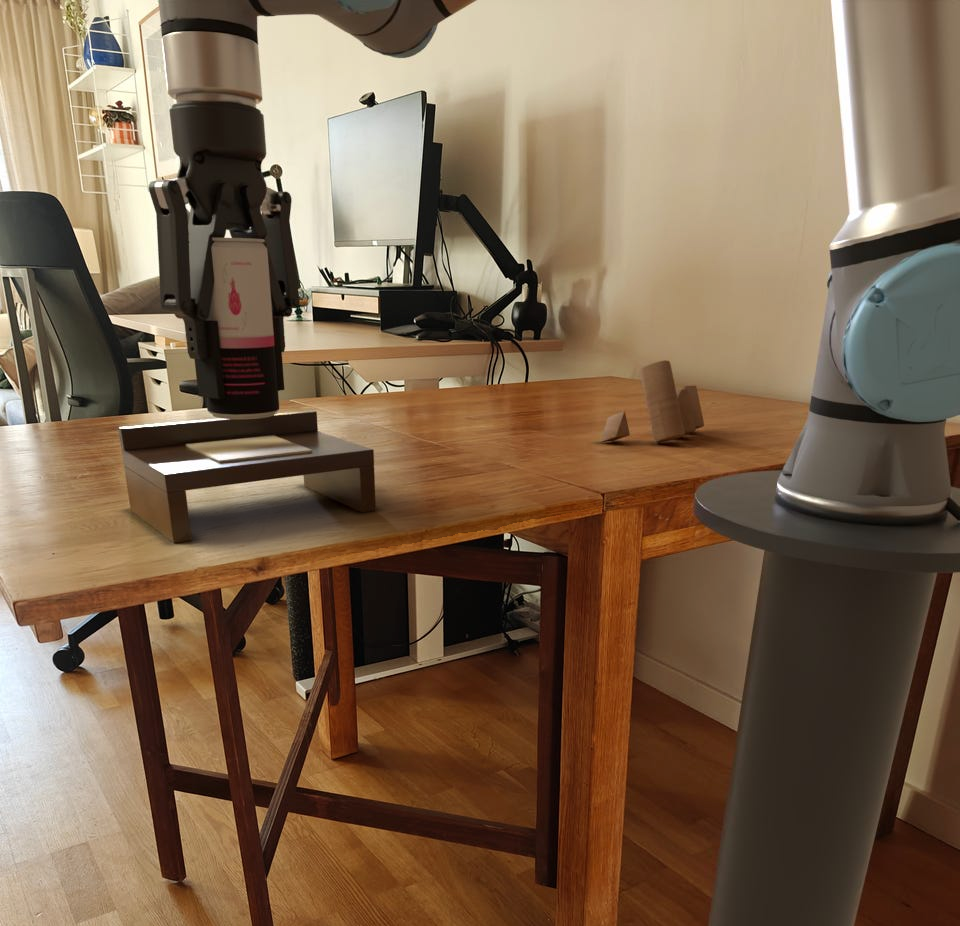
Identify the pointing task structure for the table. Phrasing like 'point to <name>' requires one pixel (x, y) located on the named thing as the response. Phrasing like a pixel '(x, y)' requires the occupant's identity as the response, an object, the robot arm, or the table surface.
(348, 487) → the shelf
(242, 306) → the beverage can
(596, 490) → the table surface
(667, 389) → the wooden block set
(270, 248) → the robot arm
